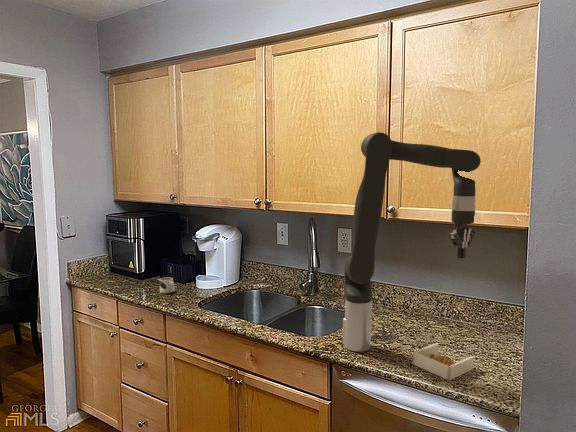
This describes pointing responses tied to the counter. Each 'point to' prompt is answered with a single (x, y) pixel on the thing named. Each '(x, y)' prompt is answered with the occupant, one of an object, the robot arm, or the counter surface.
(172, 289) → the mug
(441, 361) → the pastry
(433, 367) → the bin
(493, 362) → the counter surface
